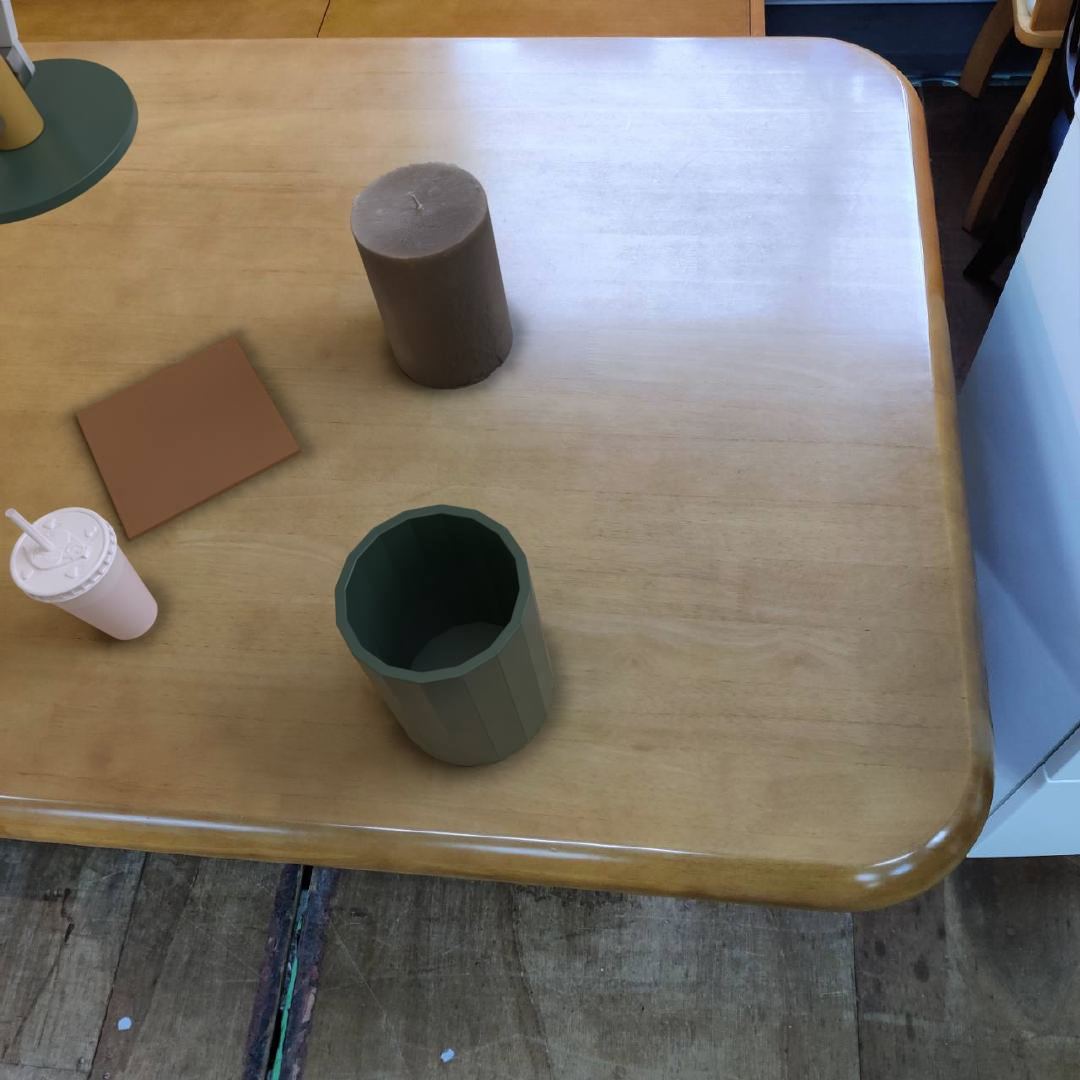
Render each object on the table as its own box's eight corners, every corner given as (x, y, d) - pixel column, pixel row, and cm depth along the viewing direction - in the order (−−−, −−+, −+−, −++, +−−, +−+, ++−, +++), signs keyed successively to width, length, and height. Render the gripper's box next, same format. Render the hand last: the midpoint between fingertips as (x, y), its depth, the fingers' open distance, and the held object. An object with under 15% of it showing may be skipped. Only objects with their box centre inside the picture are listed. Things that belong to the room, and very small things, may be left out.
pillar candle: (498, 396, 74) (466, 249, 61) (379, 383, 75) (323, 238, 62) (524, 302, 78) (500, 147, 65) (411, 293, 80) (366, 140, 67)
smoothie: (107, 572, 69) (-8, 463, 57) (189, 579, 68) (89, 470, 56) (73, 654, 66) (-55, 557, 54) (159, 662, 65) (47, 566, 53)
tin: (532, 782, 58) (499, 700, 46) (377, 747, 60) (306, 660, 48) (569, 633, 63) (550, 521, 50) (425, 605, 65) (372, 491, 53)
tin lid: (77, 248, 43) (7, 151, 38) (-127, 223, 45) (-215, 129, 40) (182, 87, 48) (132, -16, 43) (-6, 72, 50) (-72, -27, 45)
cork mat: (131, 542, 70) (128, 538, 70) (78, 417, 77) (74, 413, 76) (302, 452, 73) (300, 449, 72) (236, 339, 79) (234, 335, 79)
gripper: (-188, -365, 38) (16, -18, 50) (-500, -70, 28) (-152, 273, 40) (-42, -382, 37) (129, -24, 49) (-311, -85, 27) (-14, 271, 39)
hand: (2, 112), depth 44 cm, fingers closed on tin lid, 2 cm apart
